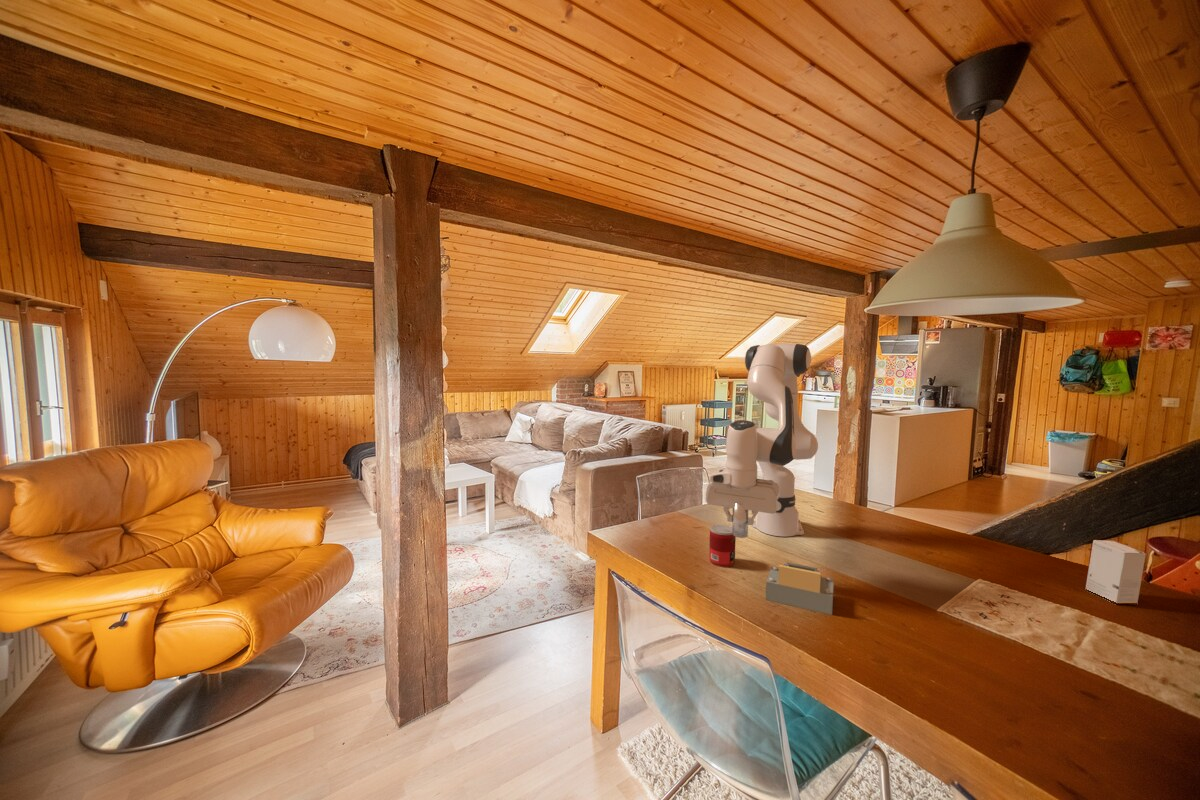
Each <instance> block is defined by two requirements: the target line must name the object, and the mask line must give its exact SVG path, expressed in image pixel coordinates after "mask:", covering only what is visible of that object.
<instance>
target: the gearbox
mask: <svg viewBox="0 0 1200 800" xmlns="http://www.w3.org/2000/svg"><path fill="white" fill-rule="evenodd" d="M765 582H766V583H765V588H766V589H765V600H766V601H770V602H773V603H779V604H783V605H787V606H792V607H796V608H801V609H806V610H810V611H814V612H817V613H821V614H827V615H831V616H833V604H834V603H833V601H834V583H835V582H834V579H833V578H831V577H828V576H827V577H824V576H821V572H820V570H819V569H818V568H817V567H812V566H808V565H802V564H796V563H792V562H786V563H784V564H783V565H782V564H778V567H777V566H771V567H770V570H769V573H768V576H767V579H766V581H765Z"/></svg>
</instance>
